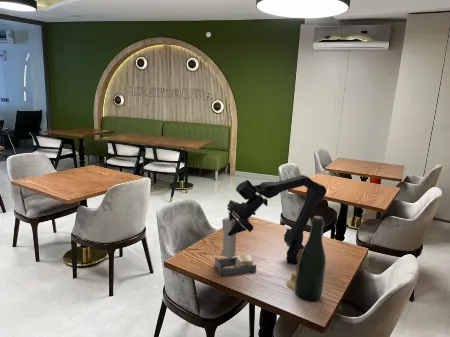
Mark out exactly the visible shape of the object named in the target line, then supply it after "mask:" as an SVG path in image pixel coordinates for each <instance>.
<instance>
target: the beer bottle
mask: <svg viewBox="0 0 450 337" xmlns="http://www.w3.org/2000/svg"><path fill="white" fill-rule="evenodd" d="M310 225H311V227H310V232H309V237H308V239H307V241H306V243H305V244H304V245H303V246H304V248H303V250H302V251H301V254H300V258H299V263H298V269H297V276H296V283H295V290H294V295H295V296H296V297H297V298H298V299H299V300H301V301H304V302H308V303H315V302H318V301H320V300H321V299H322V296H323V291H324V282H325V276H326V267H327V258H326V253H325V249H324V245H323V244H324V243H323V230H324V225H325V221H324V217H323V216H322V215H321V216H320V215H315V216H314V215H313V218H312V219H311V224H310Z"/></svg>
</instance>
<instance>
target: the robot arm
mask: <svg viewBox="0 0 450 337" xmlns="http://www.w3.org/2000/svg"><path fill="white" fill-rule="evenodd" d="M303 186H304V187H305V188H306V192H305V195H306V196H305V197H306V198H305V201H304V203H303V205H302V207H301V209H300V212H299V214H298V216H297V219H296V221H295V223H294V224H293V226H292V227H291V228H286V231H285V234H283V240H284V243H286V246H287V247H288V249H287V251H286V263H287V264H291V265H296V266H297V254H298V252H299V250H300V249H302V250H303V248H304V246H305V245H303V241H304V230H305V229H306V227H307V224H308V222H309V220H310V218H311V216H312V214H313V212H314V210H315V207H316V205H317V204H318V203H319V202H321V201H323V199H324V197H325V195H326V194H327V188H326V186H325V185H323V184H321V183H319V182H316V181H314V180H313V179H311V178H310V177H309V176H307V175H305V174H301V175H299V176H296V177H291V178H288V179H287V178H286V179H284V180H279V181H263V182H260V184H256V185H254V184H252V182H251V181H250V180H248V179H246V180H245V181H242V182H240V183H239V184H238V185H237V186H236V189H235V191H236V192H237V193H238V194H239V196H240V197H242V199H244V200H247V201H246V202H241V203H240V202H237V201H235V200H231V199H229V202H228V204H227V211H228V218H230V210H232V219H235V220H236V221H235V225H234V226H233V228H232V229H231V230H230V232H229V233H228V235H229V236H231V235H234V234H236V235H237V234H238V233H241V232H247V231H248V232H249V233H251V232H252V231H253V230H254V225H253V224H252V223H251V222H250V220H249V219H250V218H251V217H252V216H253V215H254V216H256V215H257V214H256V212H257V210H259V209H260V207H261V206H263V204H264V205H265V206H266V207H268V205H269V204H268V200H269V199H272V198H274V197H276V196H278V195H279V194H281V193H282V192H286V191H289V190H292V189H296V188H297V189H298V188H300V187H303ZM264 197H265V198H264ZM231 201H232V202H231Z"/></svg>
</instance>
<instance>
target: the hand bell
mask: <svg viewBox="0 0 450 337" xmlns="http://www.w3.org/2000/svg"><path fill="white" fill-rule="evenodd" d="M301 251H302V249H300V250H299V252H298V254H297V265H296V269H295V270H294V271H292V274H291V277H290V278H289V279H288V280H287V281H286V286H287V287H288V288H289V289H291V290H292V291H295V283H296V276H297V269H298V263H299V258H300V254H301Z"/></svg>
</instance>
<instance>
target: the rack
mask: <svg viewBox="0 0 450 337" xmlns="http://www.w3.org/2000/svg"><path fill="white" fill-rule="evenodd" d="M233 265H235V266H234V267H225V266H233ZM214 267H215V269H216V271H217V272H218V274H219V276H220V277H228V276H236V275H243V274H250V273H251V274H252V273H256V272H257V265H256V264H253V265H249V266H241V267H236V256H234V257H232V258H230V259H229V258H227V257H225V258H218V257H217V256H216V257H214ZM224 267H225V268H224Z"/></svg>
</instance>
